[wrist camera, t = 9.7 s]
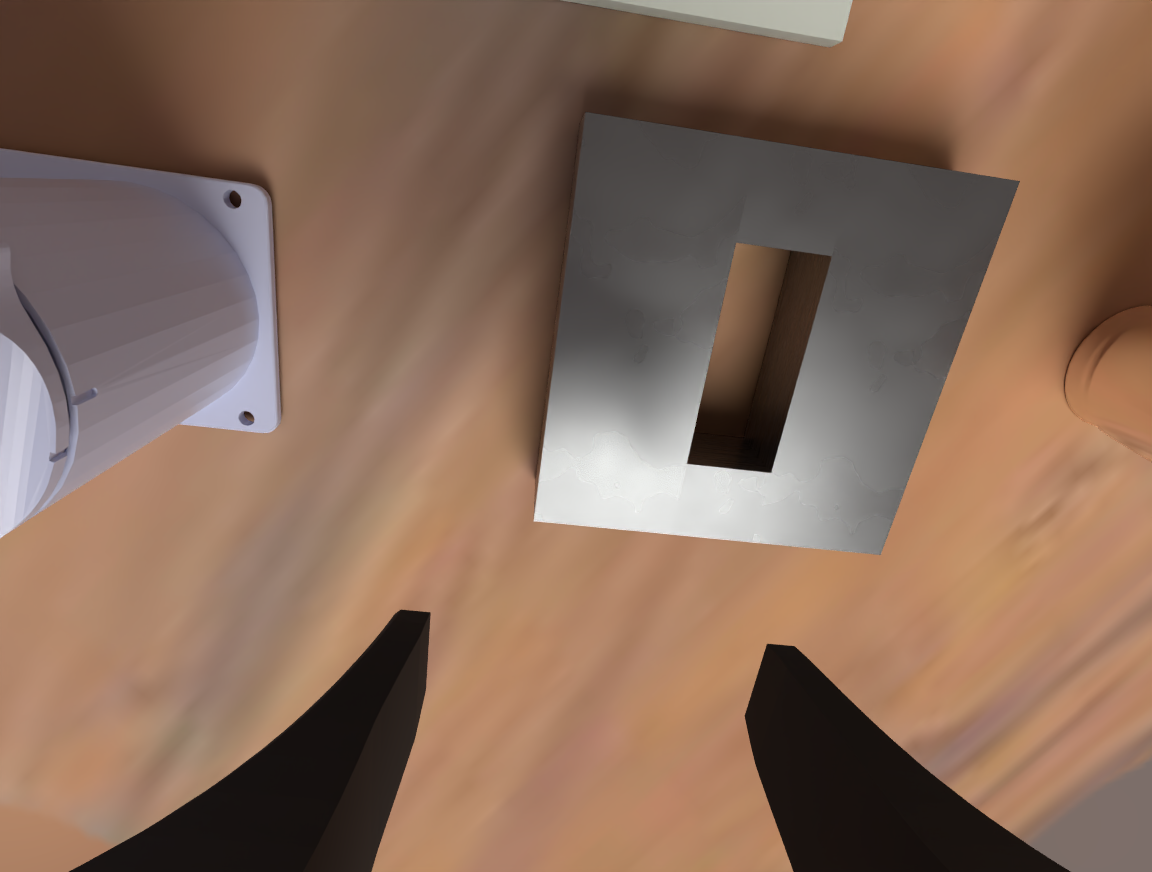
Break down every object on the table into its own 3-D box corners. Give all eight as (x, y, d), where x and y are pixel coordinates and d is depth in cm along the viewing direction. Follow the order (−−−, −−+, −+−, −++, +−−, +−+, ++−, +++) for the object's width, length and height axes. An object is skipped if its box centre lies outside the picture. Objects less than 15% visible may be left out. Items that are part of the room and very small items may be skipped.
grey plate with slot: (535, 480, 23) (533, 521, 20) (579, 123, 18) (585, 112, 16) (841, 512, 24) (880, 554, 21) (952, 182, 20) (1019, 181, 17)
